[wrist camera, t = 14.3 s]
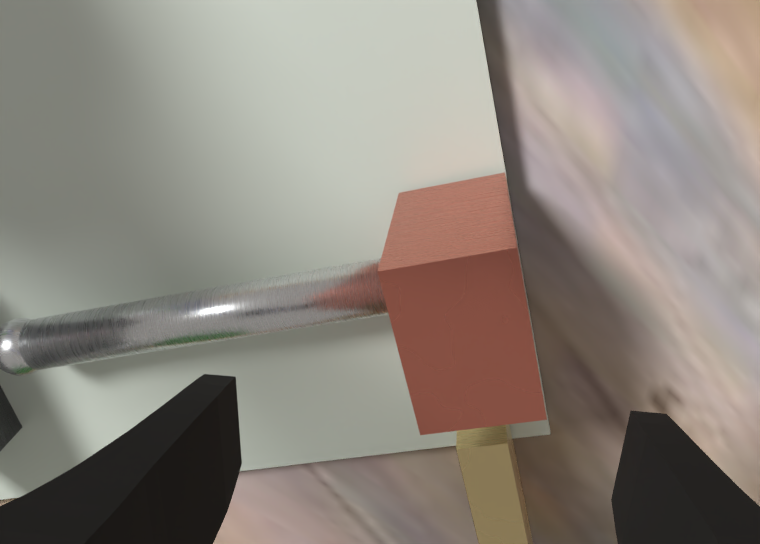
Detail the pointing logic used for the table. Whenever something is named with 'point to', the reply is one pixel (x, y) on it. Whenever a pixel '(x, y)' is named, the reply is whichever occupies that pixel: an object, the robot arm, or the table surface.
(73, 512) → the robot arm
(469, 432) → the keeper bar
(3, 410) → the eye bracket
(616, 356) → the table surface
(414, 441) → the board
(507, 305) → the mallet
